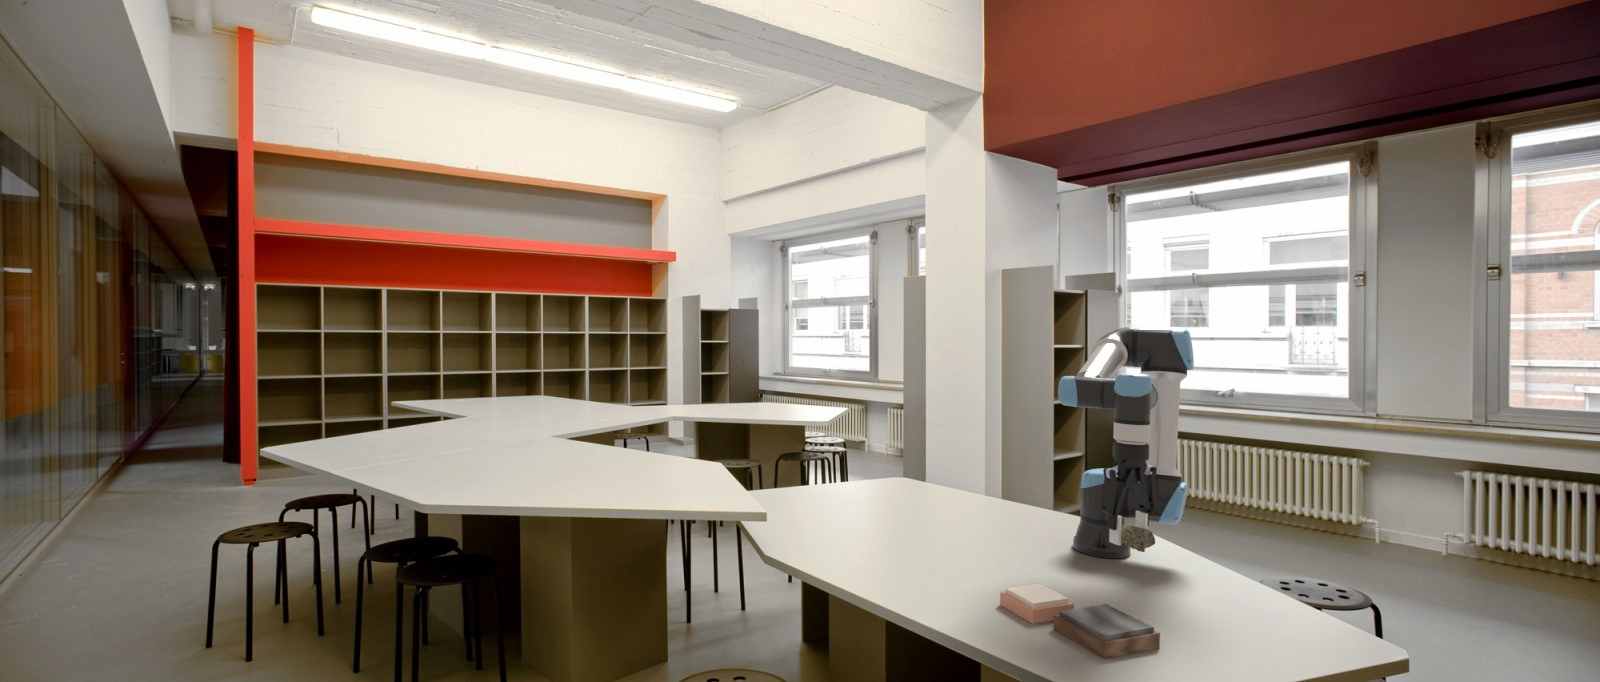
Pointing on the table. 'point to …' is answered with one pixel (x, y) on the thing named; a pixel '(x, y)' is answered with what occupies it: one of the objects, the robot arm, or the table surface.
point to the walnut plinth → (1106, 631)
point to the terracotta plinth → (1034, 602)
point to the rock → (1137, 537)
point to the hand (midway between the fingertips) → (1128, 541)
